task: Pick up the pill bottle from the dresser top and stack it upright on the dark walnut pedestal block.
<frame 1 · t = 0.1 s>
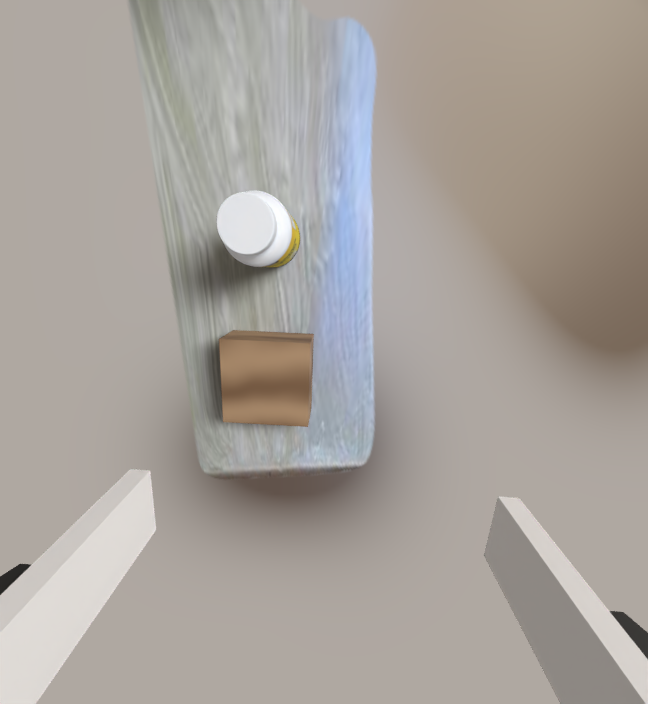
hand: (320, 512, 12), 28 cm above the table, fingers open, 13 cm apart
pill bottle: (273, 238, 36), on the table
walnut block: (273, 370, 40), on the table
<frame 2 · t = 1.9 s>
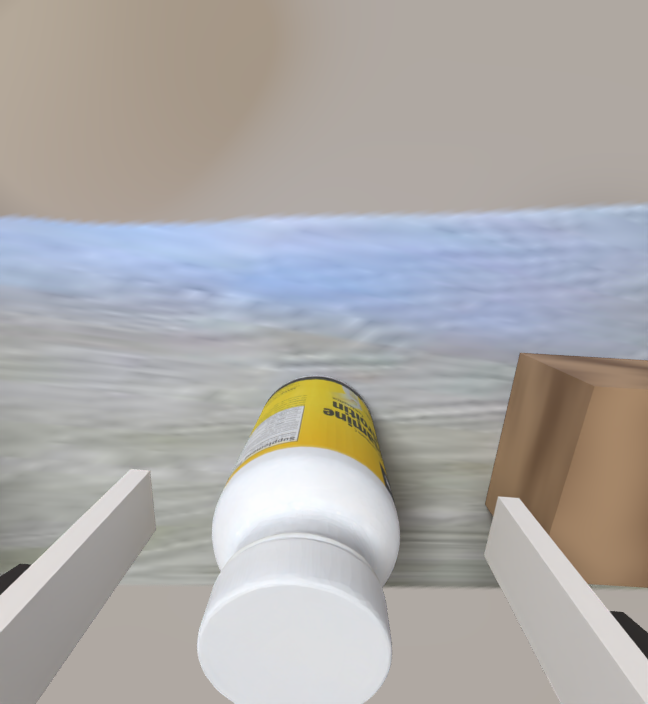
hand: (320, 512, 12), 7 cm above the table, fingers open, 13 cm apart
pill bottle: (316, 420, 19), on the table
walnut block: (585, 439, 18), on the table
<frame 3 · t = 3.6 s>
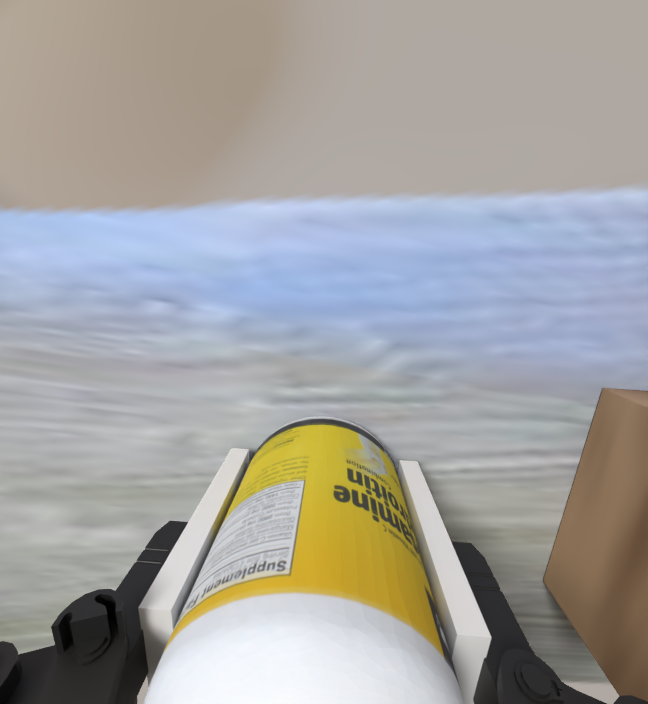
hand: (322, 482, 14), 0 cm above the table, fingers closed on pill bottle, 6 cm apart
pill bottle: (322, 472, 14), on the table, touching gripper
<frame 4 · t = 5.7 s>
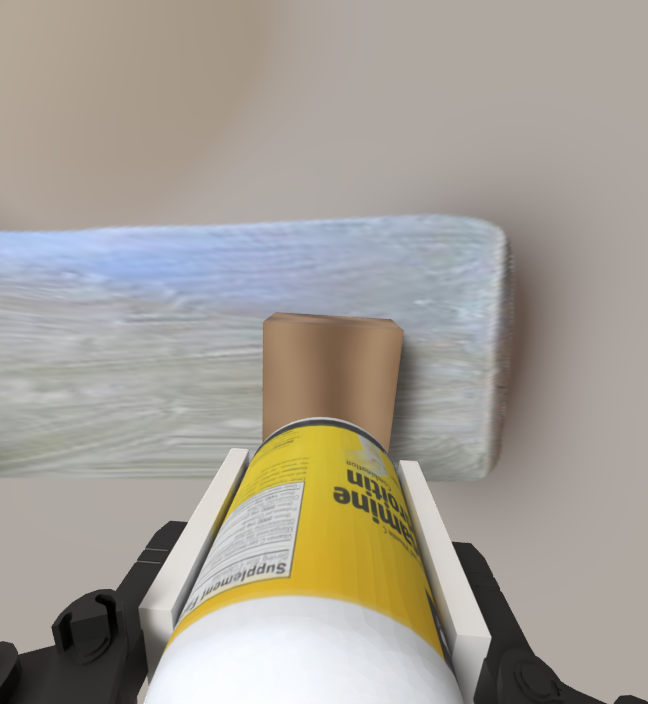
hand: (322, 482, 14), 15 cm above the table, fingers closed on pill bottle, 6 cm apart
pill bottle: (322, 473, 14), point 15 cm above the table, touching gripper
walnut block: (329, 370, 28), on the table
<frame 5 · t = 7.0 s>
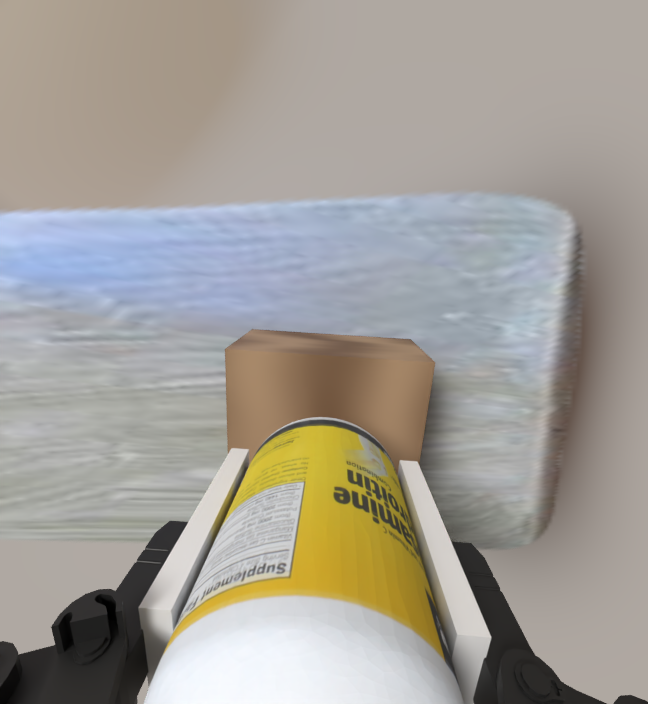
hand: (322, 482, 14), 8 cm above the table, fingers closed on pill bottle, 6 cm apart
pill bottle: (322, 473, 14), point 7 cm above the table, touching gripper
walnut block: (326, 407, 21), on the table
when the fingers open (7 cm above the table, at t = 7.9 s): pill bottle drops 1 cm, resting on walnut block.
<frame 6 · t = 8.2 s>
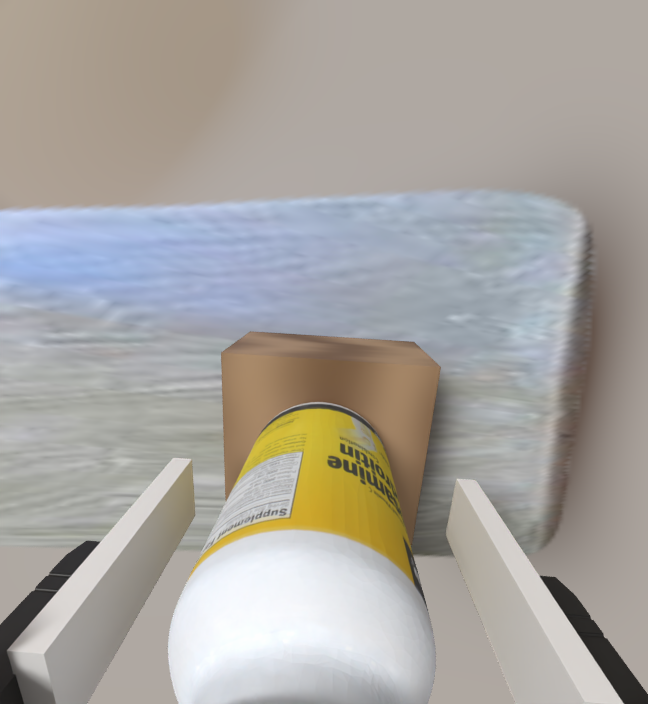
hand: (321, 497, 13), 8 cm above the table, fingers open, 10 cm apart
pill bottle: (320, 454, 16), point 5 cm above the table, touching walnut block
walnut block: (326, 411, 20), on the table
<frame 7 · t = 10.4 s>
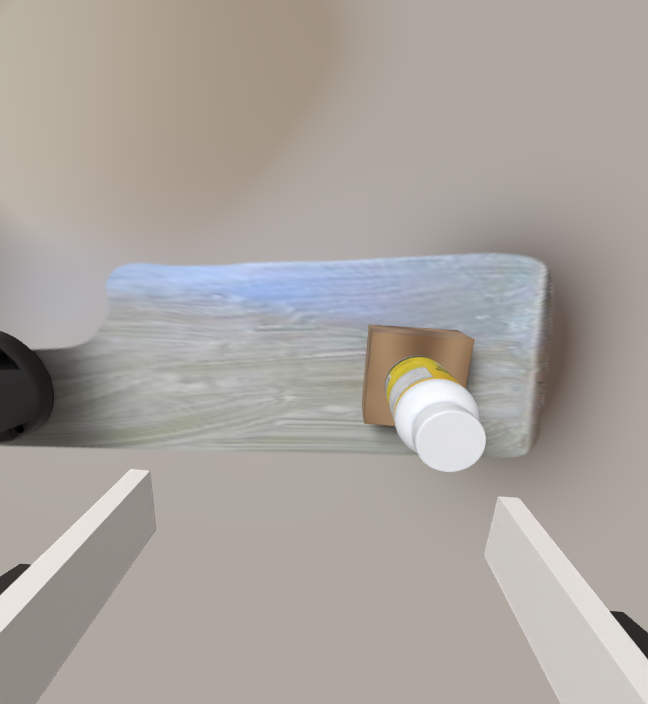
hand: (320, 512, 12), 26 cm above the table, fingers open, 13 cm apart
pill bottle: (414, 382, 32), point 5 cm above the table, touching walnut block
walnut block: (407, 368, 37), on the table
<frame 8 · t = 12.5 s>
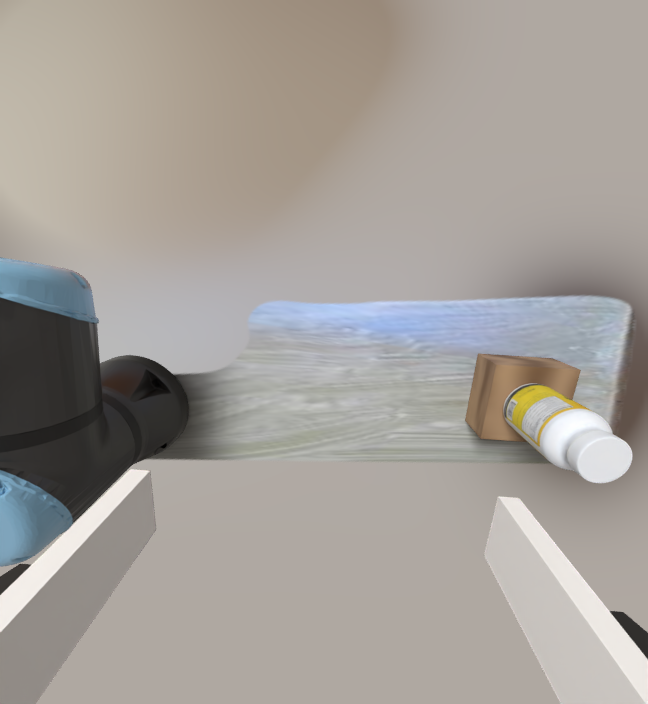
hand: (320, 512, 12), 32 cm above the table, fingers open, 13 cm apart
pill bottle: (526, 404, 39), point 5 cm above the table, touching walnut block
walnut block: (507, 390, 43), on the table
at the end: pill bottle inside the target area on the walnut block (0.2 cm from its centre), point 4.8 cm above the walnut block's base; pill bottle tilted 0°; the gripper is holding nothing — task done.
